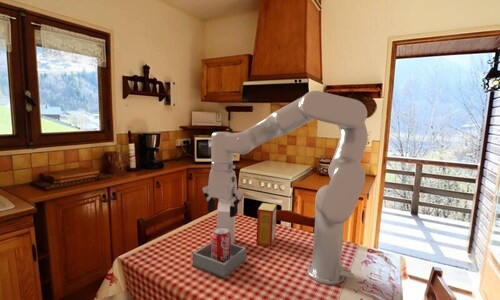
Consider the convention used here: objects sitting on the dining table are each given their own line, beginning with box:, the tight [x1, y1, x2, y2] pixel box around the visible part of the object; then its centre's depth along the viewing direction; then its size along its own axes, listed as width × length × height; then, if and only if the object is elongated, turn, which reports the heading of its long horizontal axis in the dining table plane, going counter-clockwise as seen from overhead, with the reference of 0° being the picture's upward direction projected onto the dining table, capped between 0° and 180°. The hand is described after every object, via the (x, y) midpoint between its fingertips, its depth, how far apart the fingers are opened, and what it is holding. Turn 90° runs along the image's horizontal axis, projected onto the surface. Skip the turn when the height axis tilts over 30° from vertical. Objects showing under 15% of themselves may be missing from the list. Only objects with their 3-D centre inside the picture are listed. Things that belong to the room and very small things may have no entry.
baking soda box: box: [256, 202, 278, 248], centre depth 115 cm, size 10×6×16 cm
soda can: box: [211, 227, 231, 263], centre depth 95 cm, size 7×7×12 cm
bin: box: [191, 241, 247, 280], centre depth 96 cm, size 14×14×5 cm
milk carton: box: [216, 199, 236, 244], centre depth 112 cm, size 7×7×19 cm
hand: (221, 213), depth 94 cm, fingers open, 9 cm apart
